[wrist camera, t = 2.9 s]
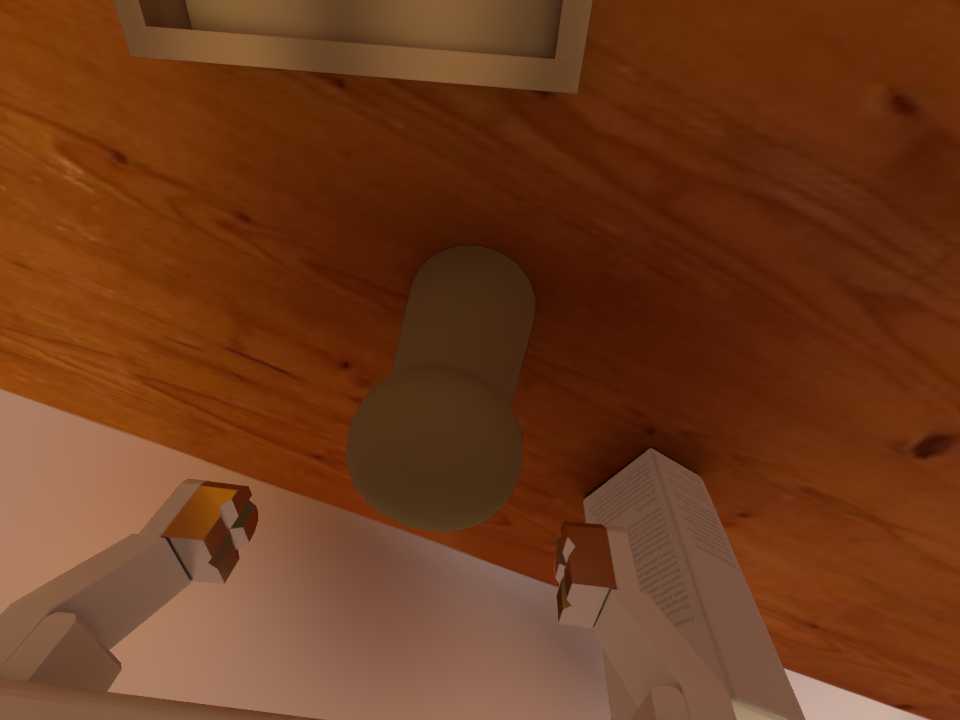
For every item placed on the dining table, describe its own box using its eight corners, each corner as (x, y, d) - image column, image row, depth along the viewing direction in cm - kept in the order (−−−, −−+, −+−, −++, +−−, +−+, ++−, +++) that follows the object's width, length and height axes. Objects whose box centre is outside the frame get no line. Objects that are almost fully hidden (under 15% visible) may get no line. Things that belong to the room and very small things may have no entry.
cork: (392, 329, 22) (292, 518, 13) (436, 220, 18) (343, 371, 9) (500, 376, 23) (479, 583, 14) (560, 281, 19) (584, 471, 10)
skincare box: (632, 524, 28) (685, 769, 19) (581, 497, 27) (608, 740, 18) (706, 475, 25) (818, 738, 15) (651, 443, 24) (733, 701, 14)
